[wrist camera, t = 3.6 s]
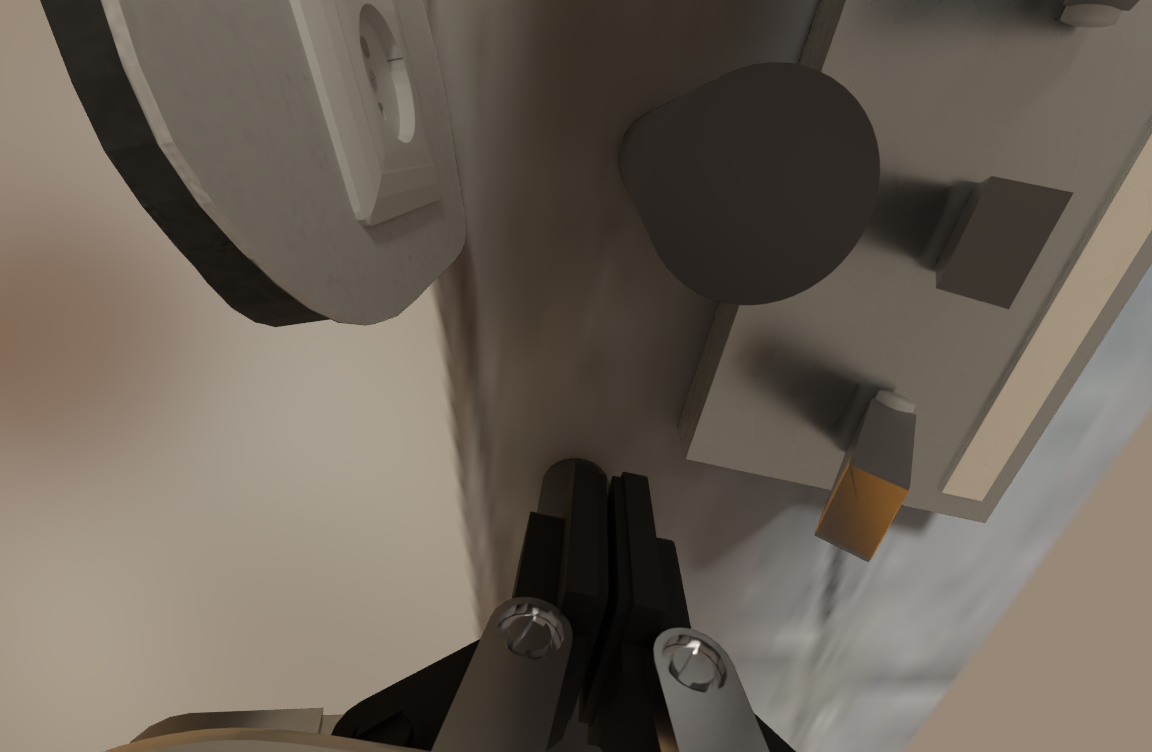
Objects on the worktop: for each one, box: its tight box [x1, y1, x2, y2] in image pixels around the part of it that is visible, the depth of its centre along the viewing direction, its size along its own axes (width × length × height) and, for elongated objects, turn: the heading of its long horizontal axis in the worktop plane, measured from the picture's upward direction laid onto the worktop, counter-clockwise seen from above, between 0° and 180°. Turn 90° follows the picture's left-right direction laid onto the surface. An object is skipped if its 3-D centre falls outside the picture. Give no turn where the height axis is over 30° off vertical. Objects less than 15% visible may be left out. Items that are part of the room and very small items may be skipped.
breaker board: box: [678, 0, 1152, 523], centre depth 18 cm, size 20×12×3 cm, turn 168°
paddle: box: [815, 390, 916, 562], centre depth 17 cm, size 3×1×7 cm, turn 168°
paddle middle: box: [935, 176, 1073, 309], centre depth 14 cm, size 3×1×7 cm, turn 168°
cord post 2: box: [619, 63, 880, 305], centre depth 13 cm, size 3×3×13 cm
